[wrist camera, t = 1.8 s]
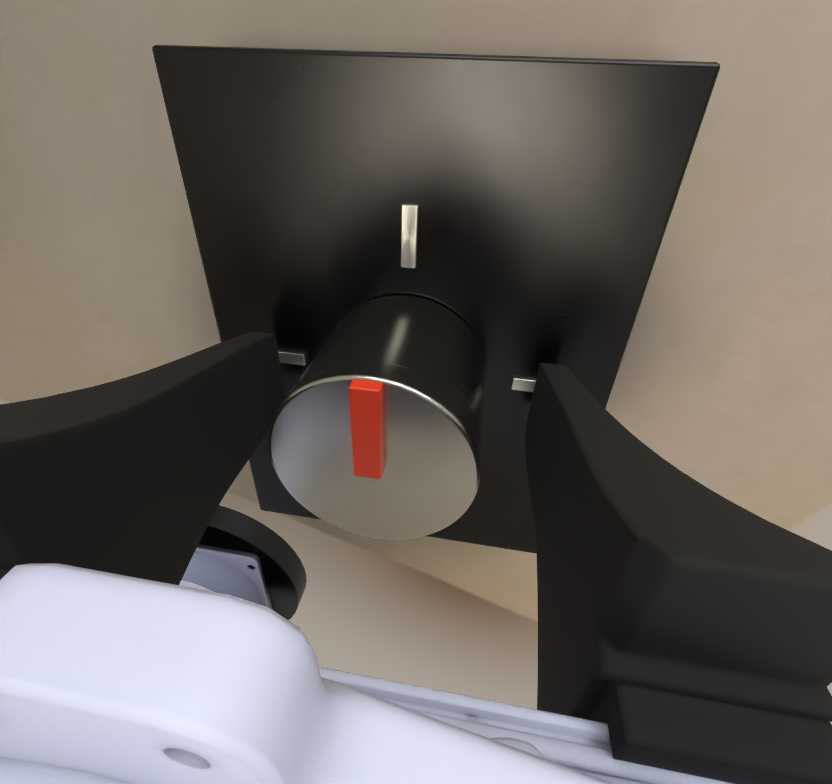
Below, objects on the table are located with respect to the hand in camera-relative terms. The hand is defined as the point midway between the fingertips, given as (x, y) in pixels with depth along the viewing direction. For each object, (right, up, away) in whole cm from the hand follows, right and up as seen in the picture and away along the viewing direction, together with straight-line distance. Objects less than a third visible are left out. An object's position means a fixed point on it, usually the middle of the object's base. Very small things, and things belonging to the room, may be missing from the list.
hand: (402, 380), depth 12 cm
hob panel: (+1, +2, +3) cm, 4 cm away
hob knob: (0, 0, 0) cm, 1 cm away
